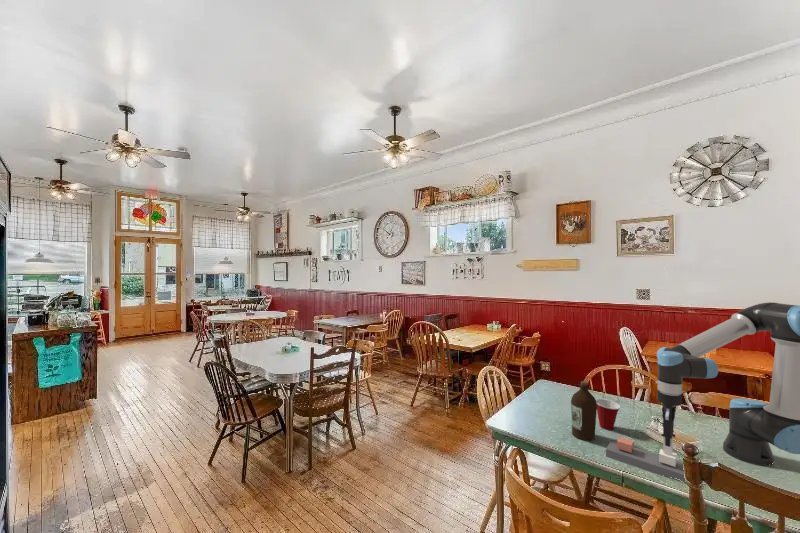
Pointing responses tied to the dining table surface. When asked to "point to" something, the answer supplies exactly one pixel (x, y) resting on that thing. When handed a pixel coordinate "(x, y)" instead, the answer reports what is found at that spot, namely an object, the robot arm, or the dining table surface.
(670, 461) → the white key
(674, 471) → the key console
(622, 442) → the salmon pink block
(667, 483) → the dining table surface
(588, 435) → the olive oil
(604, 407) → the plastic cup
